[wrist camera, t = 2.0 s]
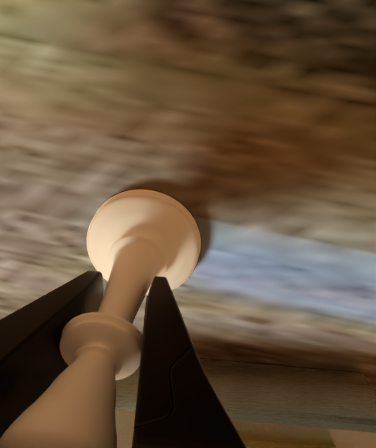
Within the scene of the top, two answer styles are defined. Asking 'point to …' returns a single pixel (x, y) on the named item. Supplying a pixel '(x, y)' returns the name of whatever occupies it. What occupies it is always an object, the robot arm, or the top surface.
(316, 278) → the top surface
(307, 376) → the grey hollow block
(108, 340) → the chess piece
